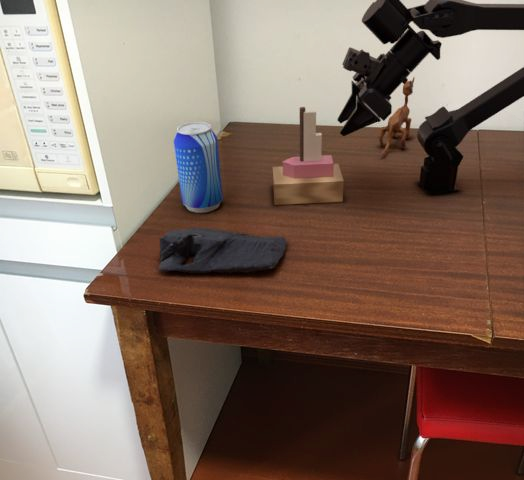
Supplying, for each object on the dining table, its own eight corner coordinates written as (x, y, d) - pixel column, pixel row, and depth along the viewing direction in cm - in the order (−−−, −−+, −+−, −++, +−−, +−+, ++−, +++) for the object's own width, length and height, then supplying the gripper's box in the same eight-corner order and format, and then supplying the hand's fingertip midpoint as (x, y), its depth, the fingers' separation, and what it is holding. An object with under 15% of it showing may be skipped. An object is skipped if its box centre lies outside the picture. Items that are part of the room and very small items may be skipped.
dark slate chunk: (275, 284, 99) (274, 260, 96) (150, 274, 103) (146, 250, 100) (291, 240, 110) (291, 216, 107) (179, 232, 115) (176, 209, 112)
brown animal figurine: (395, 161, 137) (401, 99, 128) (368, 157, 140) (372, 96, 131) (417, 135, 149) (424, 77, 141) (391, 132, 152) (397, 75, 143)
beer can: (174, 207, 124) (162, 129, 114) (204, 193, 128) (195, 117, 118) (201, 218, 119) (192, 138, 109) (231, 203, 124) (225, 125, 114)
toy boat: (330, 168, 125) (332, 102, 116) (333, 176, 121) (335, 109, 113) (282, 170, 125) (280, 105, 116) (283, 179, 121) (281, 112, 113)
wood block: (337, 183, 129) (338, 163, 126) (342, 201, 122) (343, 180, 119) (273, 186, 129) (272, 166, 126) (274, 205, 122) (273, 184, 119)
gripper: (364, 23, 114) (309, 88, 122) (374, 37, 99) (310, 111, 107) (404, 64, 118) (348, 125, 126) (419, 84, 103) (354, 153, 110)
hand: (340, 127), depth 117 cm, fingers open, 9 cm apart
